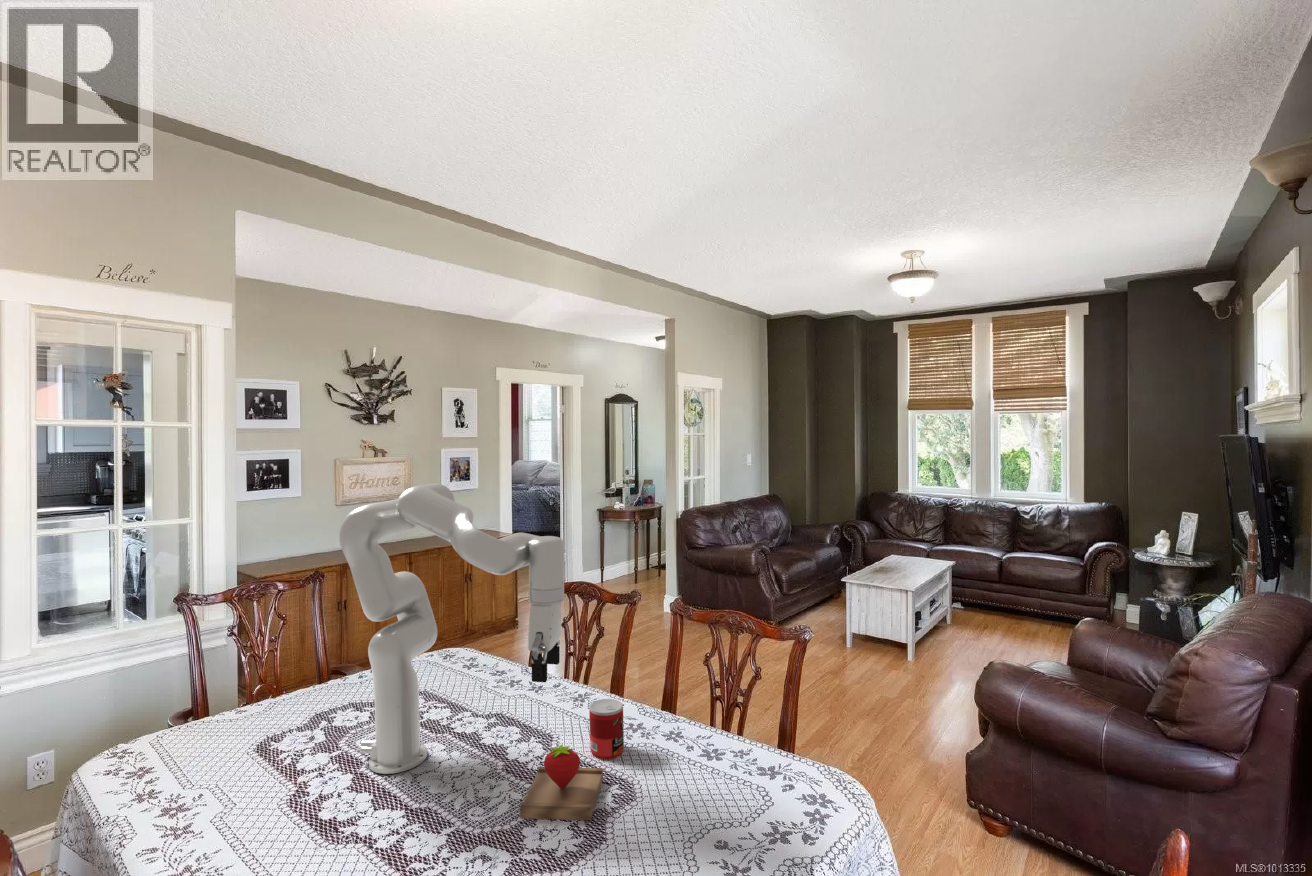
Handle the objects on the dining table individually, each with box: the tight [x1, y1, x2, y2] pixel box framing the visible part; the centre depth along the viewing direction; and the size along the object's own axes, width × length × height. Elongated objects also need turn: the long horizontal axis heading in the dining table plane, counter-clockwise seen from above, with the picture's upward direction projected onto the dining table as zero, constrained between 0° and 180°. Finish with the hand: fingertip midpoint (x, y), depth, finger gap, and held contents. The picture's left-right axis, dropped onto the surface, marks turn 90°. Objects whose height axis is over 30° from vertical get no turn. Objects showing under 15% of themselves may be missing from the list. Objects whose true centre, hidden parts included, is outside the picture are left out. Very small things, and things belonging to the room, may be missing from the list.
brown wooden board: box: [519, 766, 604, 821], centre depth 131 cm, size 14×14×3 cm
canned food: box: [588, 698, 625, 760], centre depth 149 cm, size 8×8×11 cm
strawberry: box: [543, 741, 581, 789], centre depth 131 cm, size 6×8×10 cm
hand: (546, 672), depth 138 cm, fingers open, 9 cm apart
